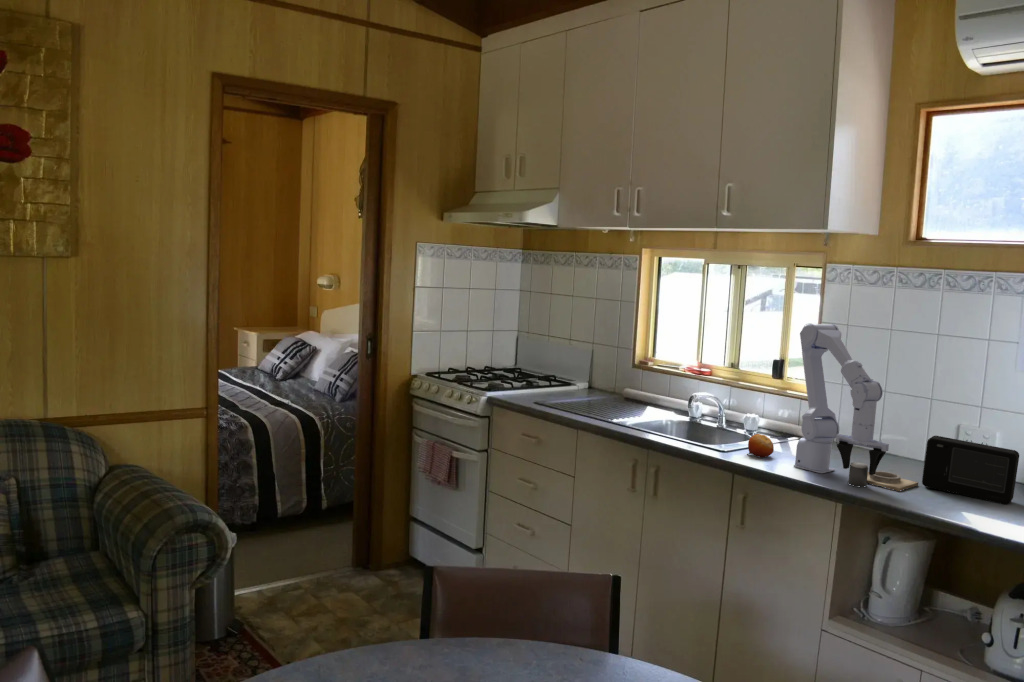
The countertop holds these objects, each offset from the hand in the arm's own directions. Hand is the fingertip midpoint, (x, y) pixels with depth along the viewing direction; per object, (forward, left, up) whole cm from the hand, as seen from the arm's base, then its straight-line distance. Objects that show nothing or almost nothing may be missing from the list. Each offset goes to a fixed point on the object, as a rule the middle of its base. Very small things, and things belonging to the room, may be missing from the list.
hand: (858, 471), depth 239 cm
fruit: (-35, +5, -4) cm, 36 cm away
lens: (0, 0, -4) cm, 4 cm away
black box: (+22, +21, -4) cm, 30 cm away
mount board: (+3, +10, -4) cm, 11 cm away
